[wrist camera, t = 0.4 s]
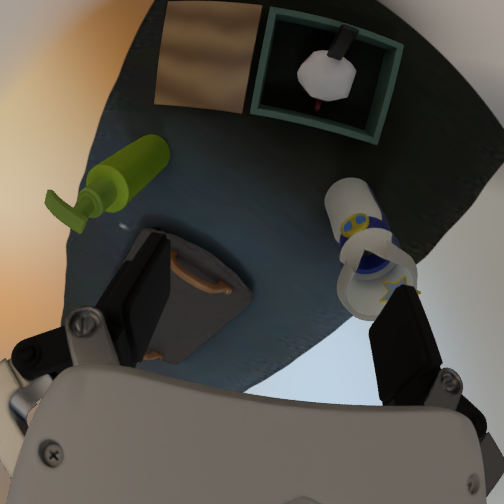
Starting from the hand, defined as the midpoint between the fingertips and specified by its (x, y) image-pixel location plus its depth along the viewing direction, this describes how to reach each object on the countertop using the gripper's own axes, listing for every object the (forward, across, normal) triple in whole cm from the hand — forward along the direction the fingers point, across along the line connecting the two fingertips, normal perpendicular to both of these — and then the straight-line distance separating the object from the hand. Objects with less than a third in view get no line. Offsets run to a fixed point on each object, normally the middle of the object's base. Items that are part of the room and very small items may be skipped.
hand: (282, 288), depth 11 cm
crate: (+30, -3, -9) cm, 31 cm away
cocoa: (+30, -3, -9) cm, 32 cm away
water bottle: (+30, -11, +8) cm, 33 cm away
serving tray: (+31, +16, +38) cm, 51 cm away
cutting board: (+30, +12, -9) cm, 33 cm away
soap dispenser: (+30, +19, +6) cm, 36 cm away
